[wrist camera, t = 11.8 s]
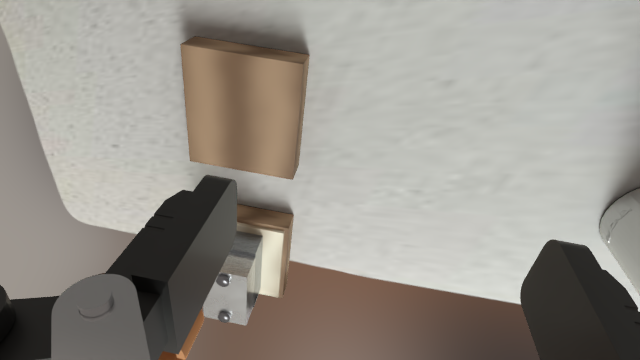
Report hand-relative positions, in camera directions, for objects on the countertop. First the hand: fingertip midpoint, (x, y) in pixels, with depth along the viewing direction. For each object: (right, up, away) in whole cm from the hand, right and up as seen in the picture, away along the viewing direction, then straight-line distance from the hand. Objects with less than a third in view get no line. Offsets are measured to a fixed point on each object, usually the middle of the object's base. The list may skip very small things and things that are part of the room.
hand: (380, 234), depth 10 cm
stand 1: (-9, +9, +30) cm, 32 cm away
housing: (-11, -8, +38) cm, 40 cm away
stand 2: (-11, -7, +40) cm, 42 cm away
